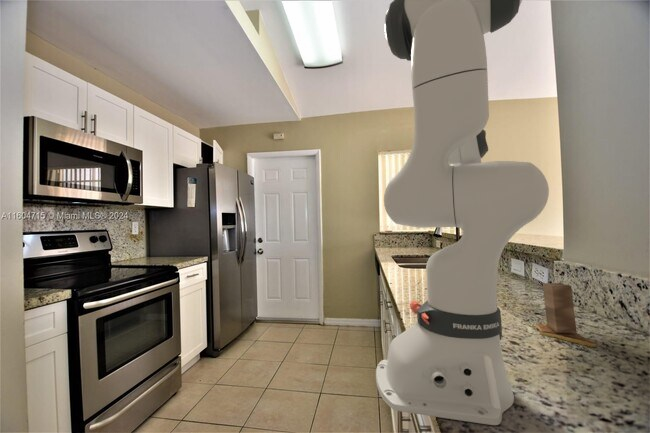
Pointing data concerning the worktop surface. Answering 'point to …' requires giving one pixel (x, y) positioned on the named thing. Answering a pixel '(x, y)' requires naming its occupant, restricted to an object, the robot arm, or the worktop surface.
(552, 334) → the shard
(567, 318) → the walnut block
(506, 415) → the worktop surface
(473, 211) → the robot arm
